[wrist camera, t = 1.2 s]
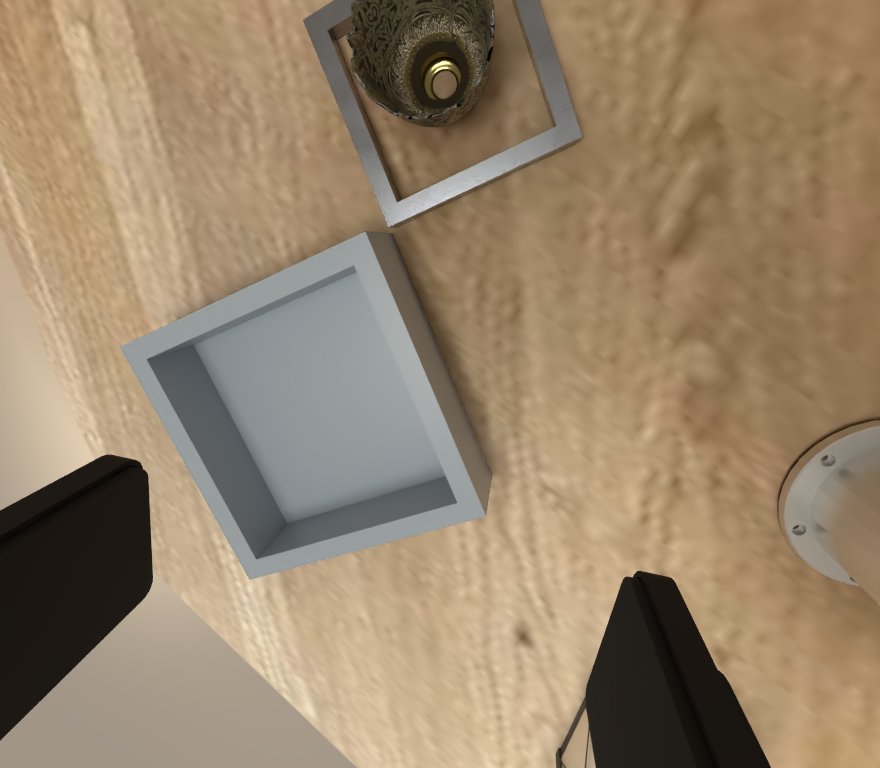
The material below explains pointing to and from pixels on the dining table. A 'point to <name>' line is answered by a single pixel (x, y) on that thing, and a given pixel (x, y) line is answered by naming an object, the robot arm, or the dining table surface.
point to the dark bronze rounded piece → (422, 54)
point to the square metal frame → (564, 133)
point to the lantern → (577, 744)
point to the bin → (317, 410)
